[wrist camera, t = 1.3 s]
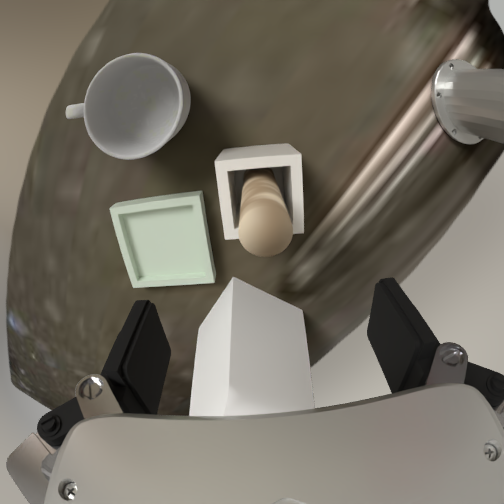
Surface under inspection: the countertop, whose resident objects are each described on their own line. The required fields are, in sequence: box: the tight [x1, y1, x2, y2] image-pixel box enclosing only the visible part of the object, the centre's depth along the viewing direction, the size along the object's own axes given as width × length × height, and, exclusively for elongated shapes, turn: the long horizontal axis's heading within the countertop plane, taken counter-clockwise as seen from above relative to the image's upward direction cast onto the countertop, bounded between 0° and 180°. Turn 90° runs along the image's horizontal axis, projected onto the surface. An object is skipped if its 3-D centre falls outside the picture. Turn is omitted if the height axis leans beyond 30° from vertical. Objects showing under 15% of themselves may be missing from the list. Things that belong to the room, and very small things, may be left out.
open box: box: [215, 144, 304, 240], centre depth 30 cm, size 8×8×9 cm
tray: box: [109, 190, 216, 288], centre depth 37 cm, size 12×12×2 cm
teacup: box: [66, 53, 191, 160], centre depth 26 cm, size 14×11×8 cm
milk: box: [189, 277, 315, 416], centre depth 33 cm, size 12×12×26 cm
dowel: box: [238, 167, 293, 257], centre depth 26 cm, size 4×4×16 cm
